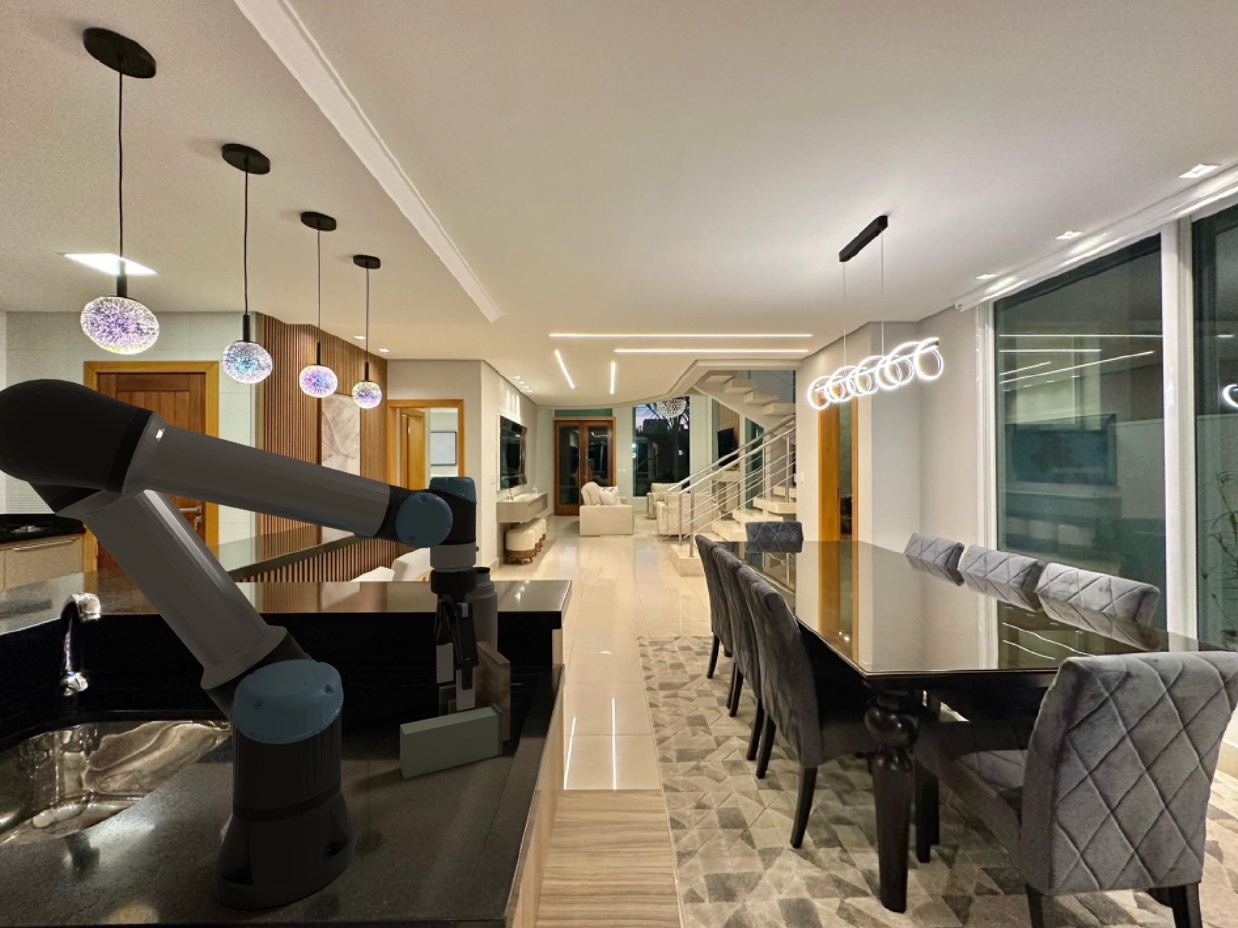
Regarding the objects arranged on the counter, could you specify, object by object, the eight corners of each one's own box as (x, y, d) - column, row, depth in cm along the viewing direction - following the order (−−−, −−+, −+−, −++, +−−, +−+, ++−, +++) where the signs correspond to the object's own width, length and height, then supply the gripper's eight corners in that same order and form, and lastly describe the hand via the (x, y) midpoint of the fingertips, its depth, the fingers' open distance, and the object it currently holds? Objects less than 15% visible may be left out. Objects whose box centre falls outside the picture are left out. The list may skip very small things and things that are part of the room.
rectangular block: (404, 779, 91) (404, 732, 91) (399, 767, 95) (399, 721, 95) (502, 754, 99) (502, 711, 99) (494, 744, 103) (494, 702, 103)
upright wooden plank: (460, 751, 100) (460, 670, 101) (438, 717, 114) (439, 646, 115) (509, 739, 105) (510, 662, 105) (483, 708, 119) (484, 639, 119)
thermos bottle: (478, 688, 130) (479, 563, 130) (504, 696, 125) (505, 566, 126) (450, 700, 123) (451, 568, 123) (477, 709, 119) (478, 571, 119)
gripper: (499, 577, 89) (500, 715, 89) (457, 556, 110) (457, 667, 110) (449, 582, 85) (450, 727, 85) (416, 559, 107) (416, 675, 107)
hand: (454, 693), depth 98 cm, fingers open, 13 cm apart
